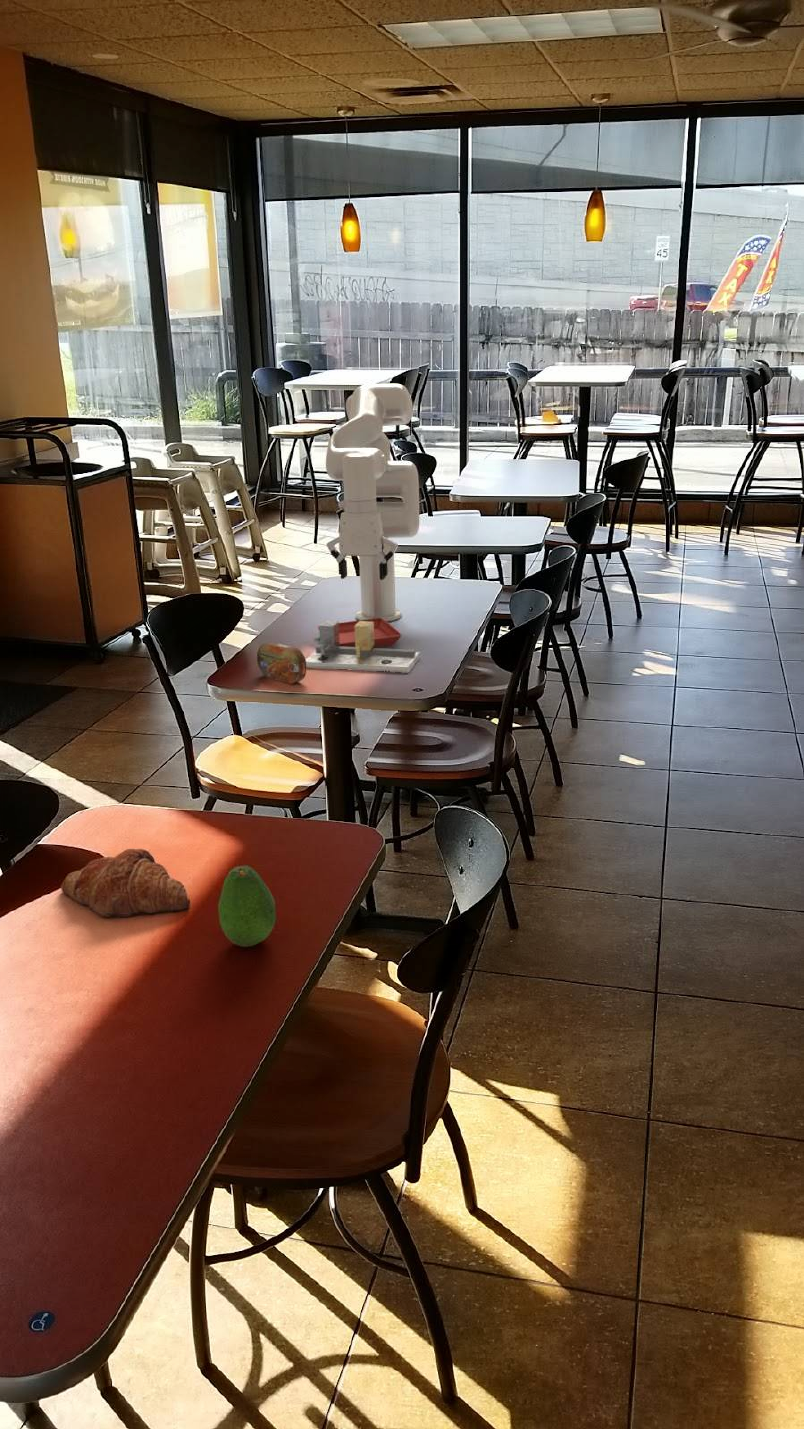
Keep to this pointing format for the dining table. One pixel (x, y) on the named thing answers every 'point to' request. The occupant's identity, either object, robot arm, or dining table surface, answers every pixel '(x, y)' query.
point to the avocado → (246, 907)
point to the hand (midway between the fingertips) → (363, 578)
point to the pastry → (126, 886)
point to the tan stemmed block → (364, 636)
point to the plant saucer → (382, 633)
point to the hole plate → (346, 657)
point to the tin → (281, 662)
